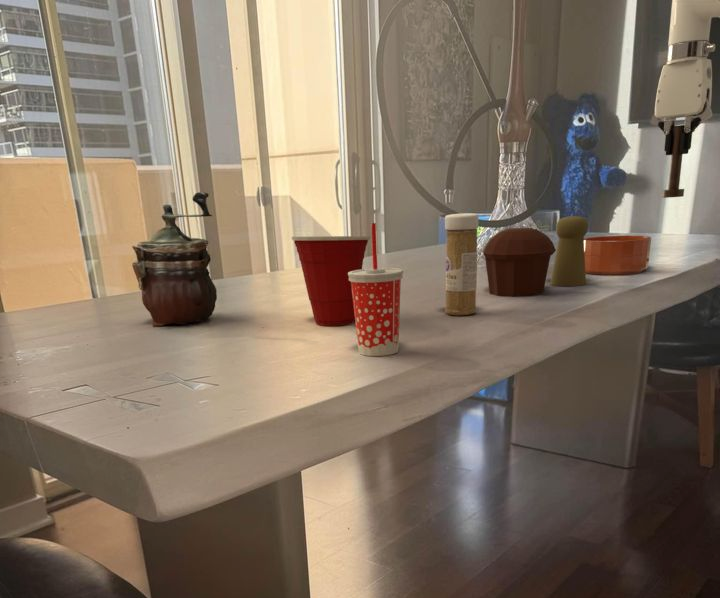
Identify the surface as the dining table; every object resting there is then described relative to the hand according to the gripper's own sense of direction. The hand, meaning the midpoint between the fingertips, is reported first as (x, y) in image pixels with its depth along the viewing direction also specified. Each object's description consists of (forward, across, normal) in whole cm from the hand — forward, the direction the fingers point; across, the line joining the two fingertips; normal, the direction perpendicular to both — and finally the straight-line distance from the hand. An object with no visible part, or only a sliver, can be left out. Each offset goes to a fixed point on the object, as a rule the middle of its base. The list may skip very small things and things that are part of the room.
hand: (676, 153), depth 148 cm
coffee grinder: (+20, +28, +107) cm, 113 cm away
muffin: (+20, 0, +62) cm, 66 cm away
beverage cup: (+20, -10, +107) cm, 109 cm away
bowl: (+20, -3, +33) cm, 38 cm away
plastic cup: (+20, +8, +96) cm, 99 cm away
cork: (+20, -3, +51) cm, 55 cm away
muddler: (+9, 0, 0) cm, 9 cm away
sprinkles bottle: (+20, -4, +83) cm, 85 cm away
